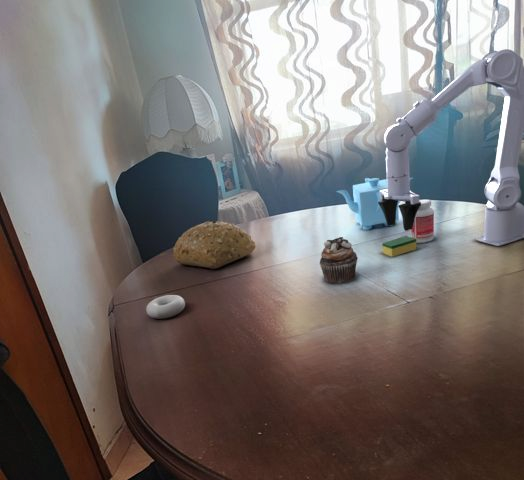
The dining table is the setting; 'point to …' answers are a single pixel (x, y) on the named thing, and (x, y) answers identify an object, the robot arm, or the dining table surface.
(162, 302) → the donut
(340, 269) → the cupcake
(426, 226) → the pill bottle
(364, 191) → the teakettle
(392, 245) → the sponge
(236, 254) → the bread
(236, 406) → the dining table surface
